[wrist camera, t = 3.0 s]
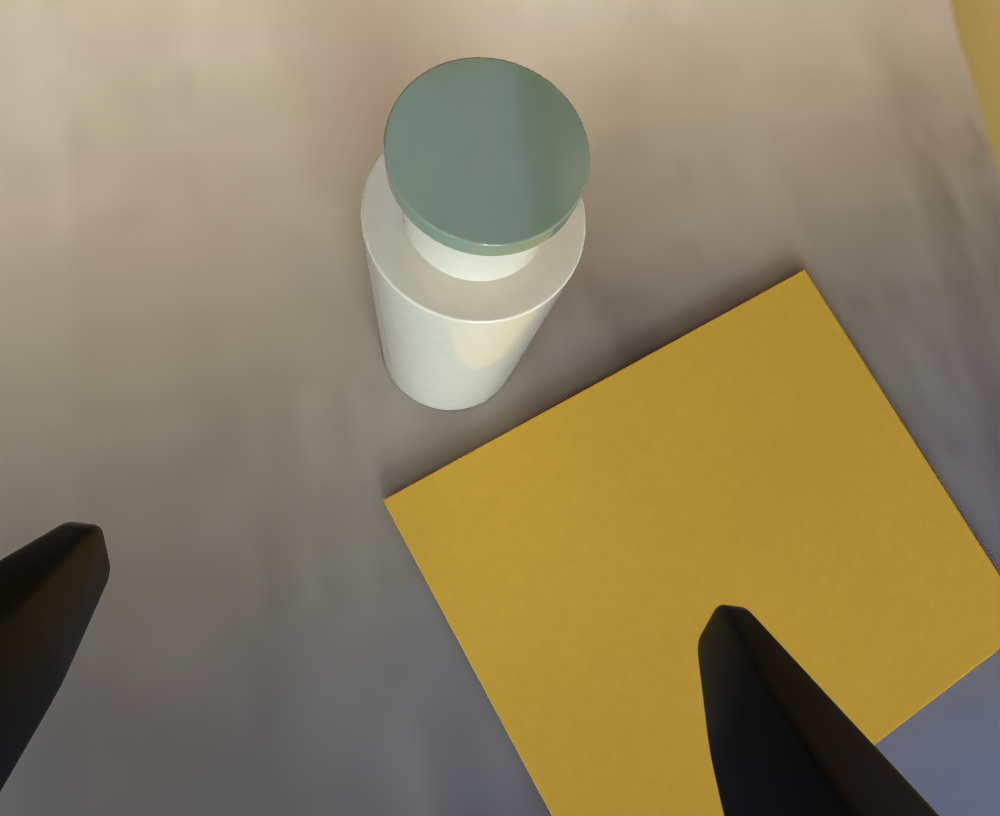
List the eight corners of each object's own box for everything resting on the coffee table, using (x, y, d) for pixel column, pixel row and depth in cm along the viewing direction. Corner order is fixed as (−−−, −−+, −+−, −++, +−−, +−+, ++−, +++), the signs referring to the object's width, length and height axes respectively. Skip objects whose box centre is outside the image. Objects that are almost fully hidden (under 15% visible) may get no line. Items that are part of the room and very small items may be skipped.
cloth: (616, 935, 21) (618, 941, 21) (383, 500, 23) (382, 500, 22) (1023, 623, 25) (1031, 624, 25) (800, 272, 26) (804, 269, 26)
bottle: (422, 434, 23) (433, 325, 11) (357, 315, 24) (299, 85, 12) (540, 371, 24) (670, 208, 12) (476, 259, 25) (537, -7, 13)
